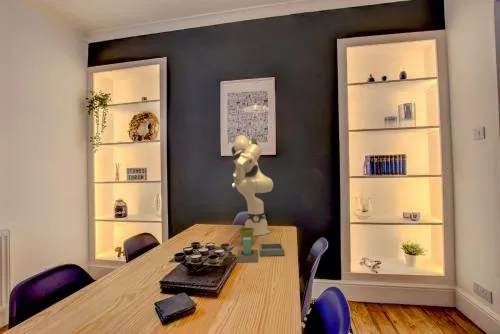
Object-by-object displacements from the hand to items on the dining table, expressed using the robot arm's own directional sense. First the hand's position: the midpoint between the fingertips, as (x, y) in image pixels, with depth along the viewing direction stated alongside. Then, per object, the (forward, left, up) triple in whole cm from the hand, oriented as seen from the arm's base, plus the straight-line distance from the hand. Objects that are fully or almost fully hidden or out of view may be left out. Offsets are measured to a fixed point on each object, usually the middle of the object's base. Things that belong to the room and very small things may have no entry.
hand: (233, 181), depth 139 cm
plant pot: (-15, +6, -38) cm, 41 cm away
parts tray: (+3, +19, -38) cm, 42 cm away
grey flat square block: (+12, +7, -38) cm, 40 cm away
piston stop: (+12, +7, -38) cm, 40 cm away
